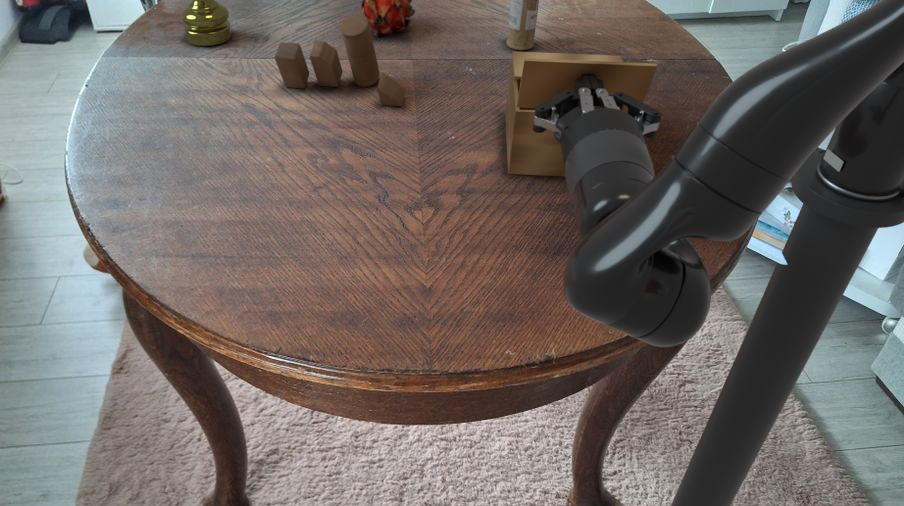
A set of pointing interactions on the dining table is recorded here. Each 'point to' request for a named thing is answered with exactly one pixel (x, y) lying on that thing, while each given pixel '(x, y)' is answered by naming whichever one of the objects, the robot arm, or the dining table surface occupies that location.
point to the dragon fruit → (387, 15)
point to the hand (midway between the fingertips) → (586, 82)
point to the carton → (523, 144)
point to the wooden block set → (329, 63)
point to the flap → (560, 75)
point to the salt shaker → (206, 23)
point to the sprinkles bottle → (522, 24)
